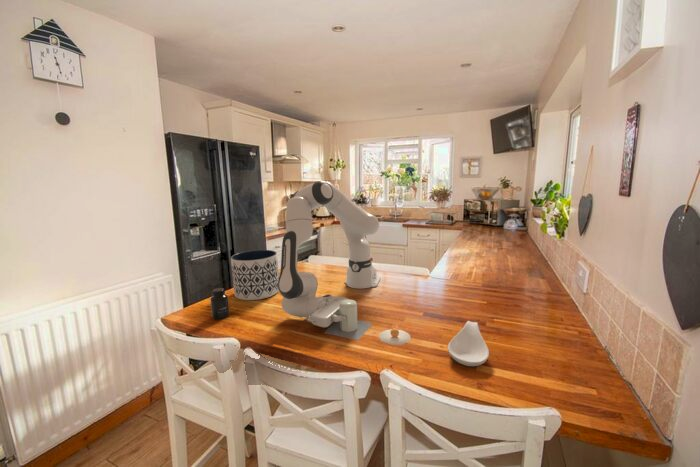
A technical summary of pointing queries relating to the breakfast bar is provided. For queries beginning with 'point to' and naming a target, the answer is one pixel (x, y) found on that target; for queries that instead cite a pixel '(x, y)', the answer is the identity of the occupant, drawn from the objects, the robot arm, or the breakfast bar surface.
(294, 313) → the robot arm
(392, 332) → the ball
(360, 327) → the felt mat
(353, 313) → the grey rounded cylinder
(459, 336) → the spoon rest
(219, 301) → the supplement bottle
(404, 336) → the coaster
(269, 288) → the planter
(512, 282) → the breakfast bar surface
